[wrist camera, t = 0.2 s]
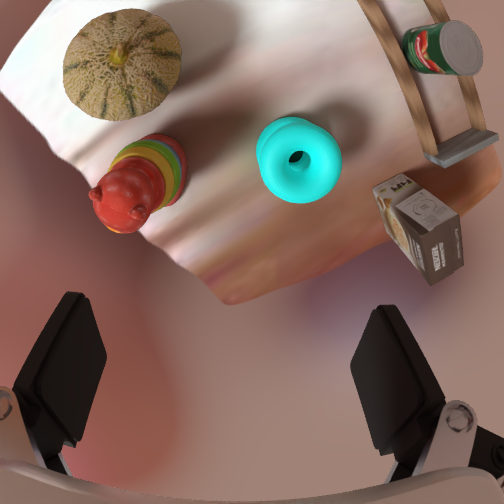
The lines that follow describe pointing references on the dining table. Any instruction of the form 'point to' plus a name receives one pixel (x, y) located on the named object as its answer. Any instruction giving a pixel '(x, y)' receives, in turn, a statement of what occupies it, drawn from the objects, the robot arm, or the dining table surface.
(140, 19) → the cantaloupe
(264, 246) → the dining table surface
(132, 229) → the stacking bear
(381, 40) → the bay
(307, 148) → the donuts
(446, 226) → the coffee box
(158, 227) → the dining table surface
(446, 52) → the canned tomato
